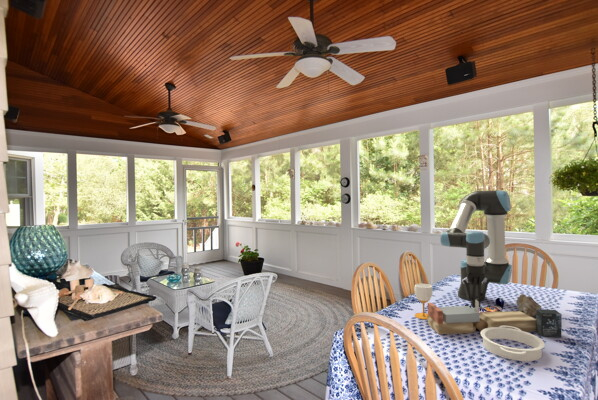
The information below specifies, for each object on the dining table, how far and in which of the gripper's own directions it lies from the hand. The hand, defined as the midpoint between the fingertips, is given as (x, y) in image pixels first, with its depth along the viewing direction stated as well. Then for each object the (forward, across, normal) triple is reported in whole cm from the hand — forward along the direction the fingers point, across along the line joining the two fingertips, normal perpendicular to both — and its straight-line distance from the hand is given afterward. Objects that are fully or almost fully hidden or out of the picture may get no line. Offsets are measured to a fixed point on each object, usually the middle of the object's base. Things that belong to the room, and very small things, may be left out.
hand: (475, 314), depth 161 cm
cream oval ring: (+7, +2, -22) cm, 23 cm away
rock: (+7, +36, +14) cm, 39 cm away
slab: (+2, -9, 0) cm, 9 cm away
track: (+6, +2, 0) cm, 7 cm away
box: (+7, +28, -10) cm, 30 cm away
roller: (+5, +3, 0) cm, 6 cm away
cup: (+7, -18, +16) cm, 25 cm away
